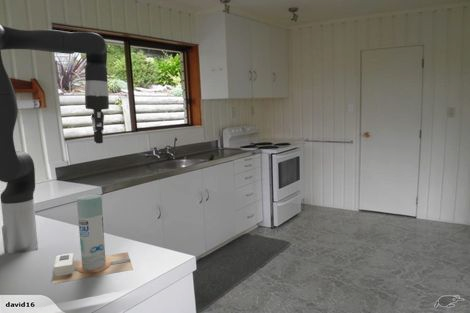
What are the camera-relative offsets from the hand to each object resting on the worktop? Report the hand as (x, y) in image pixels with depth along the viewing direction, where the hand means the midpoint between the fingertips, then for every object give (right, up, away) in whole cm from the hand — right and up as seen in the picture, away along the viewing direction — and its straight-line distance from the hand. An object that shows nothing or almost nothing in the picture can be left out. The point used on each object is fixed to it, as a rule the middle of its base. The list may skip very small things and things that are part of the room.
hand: (98, 142), depth 123 cm
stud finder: (-1, -37, -22) cm, 43 cm away
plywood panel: (+7, -38, -21) cm, 44 cm away
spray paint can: (+7, -36, -21) cm, 42 cm away
